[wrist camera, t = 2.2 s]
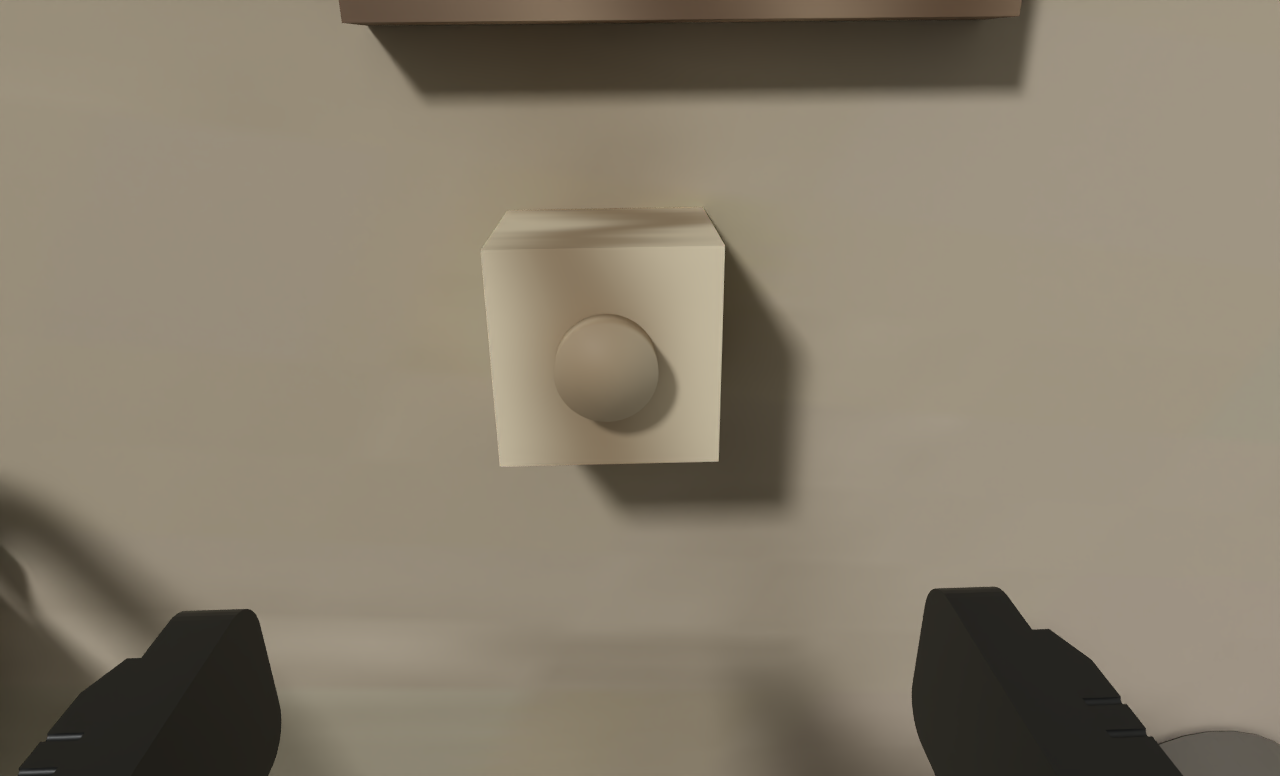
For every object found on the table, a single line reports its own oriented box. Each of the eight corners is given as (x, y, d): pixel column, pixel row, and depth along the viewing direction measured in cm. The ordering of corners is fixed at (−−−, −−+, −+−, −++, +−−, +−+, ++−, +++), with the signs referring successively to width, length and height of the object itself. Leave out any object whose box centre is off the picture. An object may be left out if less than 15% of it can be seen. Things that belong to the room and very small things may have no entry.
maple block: (702, 206, 23) (729, 254, 17) (699, 385, 25) (722, 476, 19) (508, 209, 23) (474, 258, 17) (521, 389, 25) (495, 482, 19)
